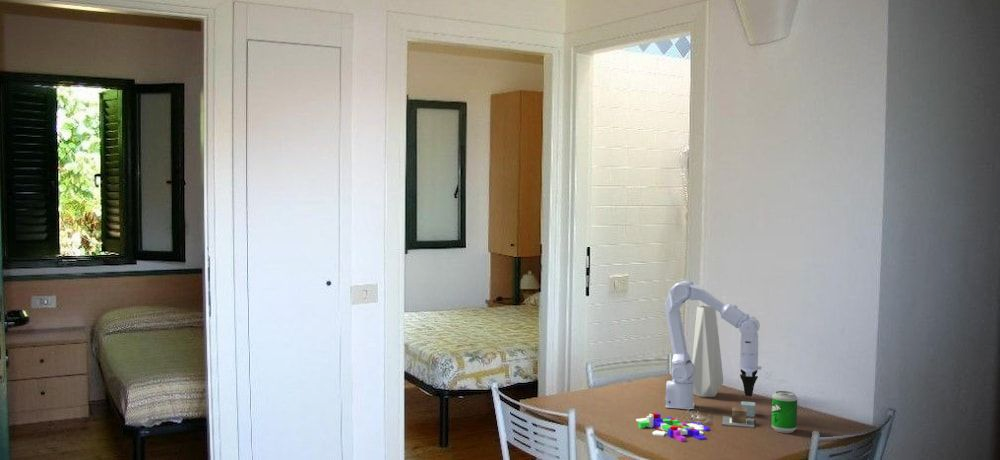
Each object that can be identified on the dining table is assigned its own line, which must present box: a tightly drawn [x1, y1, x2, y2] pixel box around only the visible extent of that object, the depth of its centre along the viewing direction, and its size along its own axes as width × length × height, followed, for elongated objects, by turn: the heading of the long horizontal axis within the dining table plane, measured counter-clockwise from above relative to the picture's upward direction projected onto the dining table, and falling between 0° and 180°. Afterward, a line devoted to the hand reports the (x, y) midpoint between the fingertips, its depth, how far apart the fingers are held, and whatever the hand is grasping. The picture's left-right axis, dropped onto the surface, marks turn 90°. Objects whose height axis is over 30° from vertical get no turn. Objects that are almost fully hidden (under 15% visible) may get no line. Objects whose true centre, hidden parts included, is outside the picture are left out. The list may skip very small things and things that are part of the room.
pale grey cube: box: [740, 401, 756, 418], centre depth 289 cm, size 4×4×4 cm
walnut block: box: [731, 406, 747, 424], centre depth 279 cm, size 4×4×4 cm
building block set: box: [635, 412, 711, 443], centre depth 271 cm, size 25×20×4 cm
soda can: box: [771, 390, 798, 434], centre depth 270 cm, size 8×8×12 cm
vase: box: [691, 305, 724, 398], centre depth 315 cm, size 12×12×33 cm
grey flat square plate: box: [721, 415, 755, 429], centre depth 279 cm, size 10×10×1 cm
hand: (748, 393), depth 288 cm, fingers open, 7 cm apart
